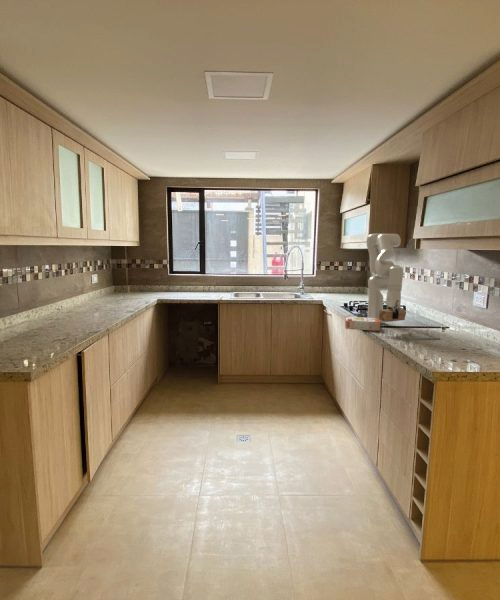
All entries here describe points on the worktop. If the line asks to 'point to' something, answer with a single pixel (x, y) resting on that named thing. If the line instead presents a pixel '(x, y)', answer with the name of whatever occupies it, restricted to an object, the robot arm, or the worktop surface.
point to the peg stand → (420, 335)
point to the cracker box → (362, 323)
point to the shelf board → (391, 315)
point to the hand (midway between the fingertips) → (392, 317)
